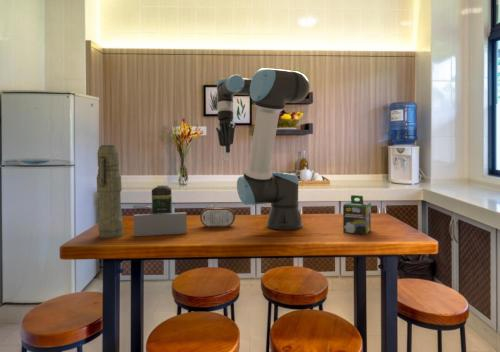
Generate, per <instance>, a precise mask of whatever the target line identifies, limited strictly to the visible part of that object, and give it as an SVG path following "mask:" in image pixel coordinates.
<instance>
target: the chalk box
mask: <svg viewBox="0 0 500 352" xmlns="http://www.w3.org/2000/svg"><path fill="white" fill-rule="evenodd" d="M355 199H359V200H358V201H357V200H355ZM342 208H343V209H342V210H343V211H342V213H343V214H342V233H344V234H345V233H348V234H353V235H356V234H357V235H363V236H367V234H369V232H370V231H372V202H369V201H367V202H366V201H364V196H363V195H353V194H352V195H350V201H348V202H346V203H344V204H343V206H342Z"/></svg>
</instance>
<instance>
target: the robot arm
mask: <svg viewBox="0 0 500 352" xmlns="http://www.w3.org/2000/svg"><path fill="white" fill-rule="evenodd" d="M309 91H310V82H309V79H308V78H307V76H306V75H304V73H301V72H299V71H295V70H286V69H276V68H260V69H258V70H257V71H256V72H255V73H254V75H253V76H252V78H246V77H245V78H244V77H242V76H241V75H240V74H233V75H230V76H229V77H228V78H221V79H219V80H217V82H216V94H217V95H216V96H217V100H216V101H217V104H216V105H217V119H218V121H219V124H218V125H219V126H218V127H216V128H215V130H216V132H217V138H218V142H219V146H221V147H222V154H223V160H225V161H229V160H230V159H231V155H230V153H231V145H234V144H233V143H234V137H235V129H236V126H237V124H236V123H234V122H233V120H234V112H233V111H234V107H233V106H234V104H233V103H234V101H233V98H234V96H235V95H240V96H242V95H243V96H250V98H251V100H252V101H253V105H254V106H255V109H256V112H255V113H256V115H255V122H254V127H253V134H252V141H251V149H250V155H249V163H248V166H247V168H245V169H244V172H243V175H242V176H239V177H238V178H237V180H236V191H237V195H238V198H239V200H240V202H241V203H242V204H244V205H248V206H251V205H252V206H255V205H266V204H270V211H269V215H268V217H267V220H266V227H267V228H270V229H273V230H282V231H283V230H285V231H286V230H287V231H289V230H291V231H292V230H298V229H301V228H302V227H303V220H302V217H301V214H300V209H299V186H300V184H299V177H298V175H296V174H294V173H288V172H287V173H285V172H279V171H278V172H276V171H271V163H272V158H273V151H274V148H275V147H274V146H275V141H276V137H277V136H276V134H277V128H278V124H279V123H278V122H279V117H280V113H281V112H282V111H284V110H285V106H286V103H290V104H292V103H293V104H295V103H299V102H301V101H303V100H304V99H305V98H306V97H307V96H308V94H309V93H310V92H309Z"/></svg>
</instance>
